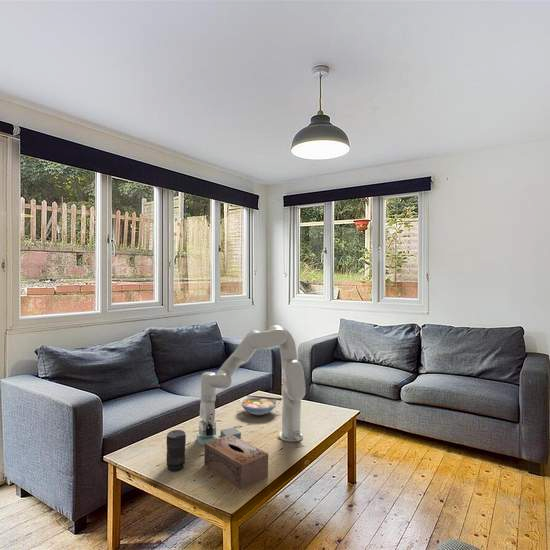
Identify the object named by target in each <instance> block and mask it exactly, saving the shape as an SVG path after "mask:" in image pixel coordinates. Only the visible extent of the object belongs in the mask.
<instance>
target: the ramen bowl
mask: <svg viewBox="0 0 550 550" xmlns="http://www.w3.org/2000/svg"><path fill="white" fill-rule="evenodd" d="M244 396H245V397H244ZM278 401H283V397H271V396H268V395H259V394H257V395H247V394H243V398H241V399H240V401H239V404H240V405H241V406H242V408H243V410H244V411H245V412H247V413H249V414H251V415H254V416H263V415H266V414H269V413H270V412H272V411H273V410H274V409H275V408H276V406H277V404H278Z"/></svg>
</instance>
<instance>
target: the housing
mask: <svg viewBox="0 0 550 550" xmlns="http://www.w3.org/2000/svg"><path fill="white" fill-rule="evenodd" d="M209 421H210V420H209ZM210 423H211V422H210ZM210 423H209V424H210ZM206 429H207V423H205V422H204V421H203V420H202V419H201V420H199V422H198V434H200V435H201V436H202V438H203V437H208V436H207V435H206ZM213 435H215V436H217V421H216V420H214V425H213ZM213 435H210V436H213Z"/></svg>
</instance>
